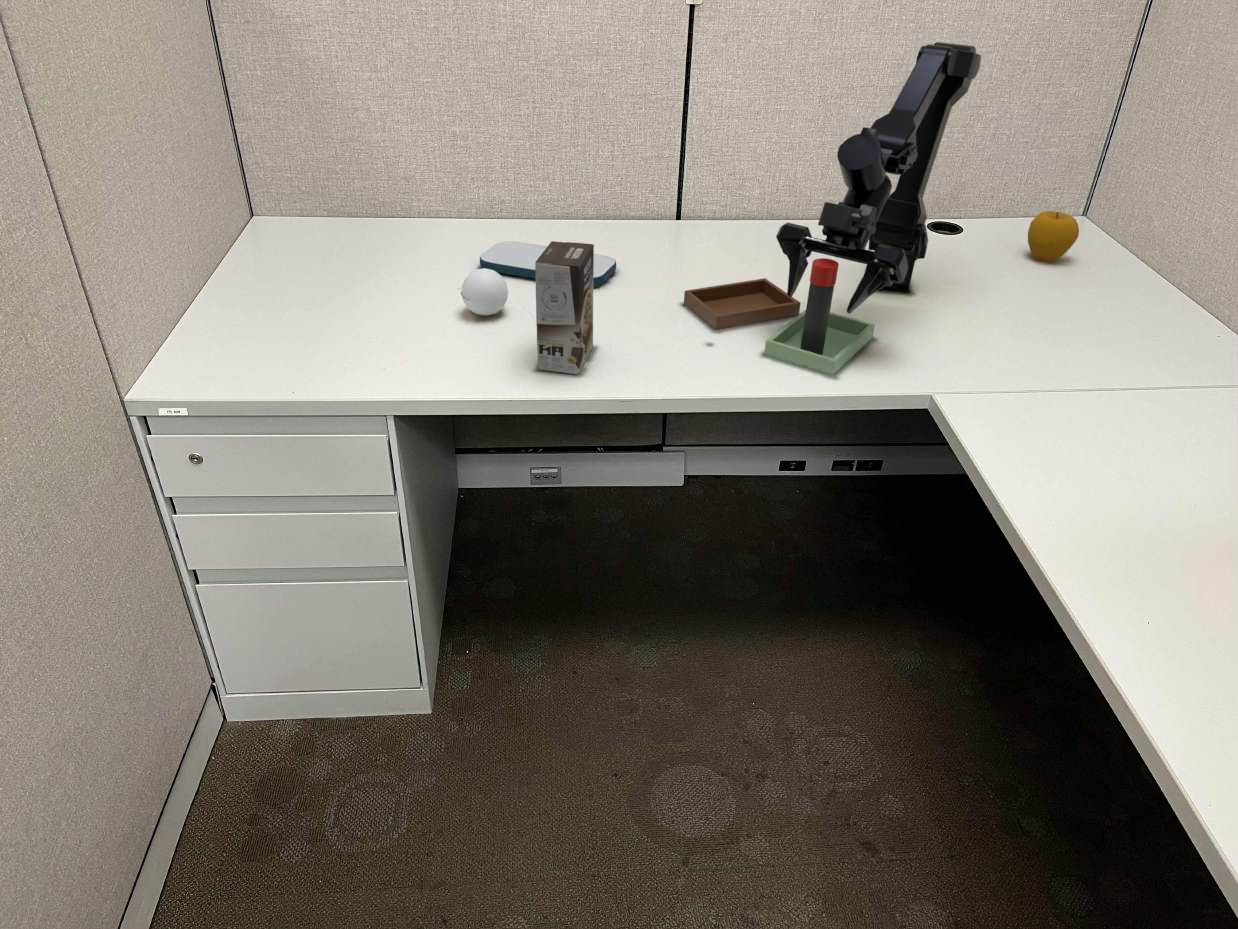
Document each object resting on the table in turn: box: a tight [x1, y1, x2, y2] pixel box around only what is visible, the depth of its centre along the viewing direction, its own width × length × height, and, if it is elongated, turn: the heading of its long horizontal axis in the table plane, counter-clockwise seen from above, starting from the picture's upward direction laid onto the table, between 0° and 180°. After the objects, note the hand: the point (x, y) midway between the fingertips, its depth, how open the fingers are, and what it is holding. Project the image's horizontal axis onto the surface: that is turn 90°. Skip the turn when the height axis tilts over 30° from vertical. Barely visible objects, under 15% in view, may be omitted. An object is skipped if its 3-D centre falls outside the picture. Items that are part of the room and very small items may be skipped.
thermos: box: [800, 257, 840, 355], centre depth 127 cm, size 4×4×14 cm
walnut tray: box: [683, 277, 802, 331], centre depth 143 cm, size 15×11×2 cm
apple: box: [1027, 210, 1080, 263], centre depth 164 cm, size 9×8×9 cm
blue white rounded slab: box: [479, 241, 617, 287], centre depth 156 cm, size 24×12×2 cm, turn 70°
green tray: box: [763, 309, 876, 376], centre depth 132 cm, size 15×11×2 cm
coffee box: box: [535, 240, 595, 375], centre depth 123 cm, size 9×6×16 cm
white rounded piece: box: [458, 267, 509, 317], centre depth 139 cm, size 10×7×7 cm
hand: (818, 304), depth 126 cm, fingers open, 9 cm apart
